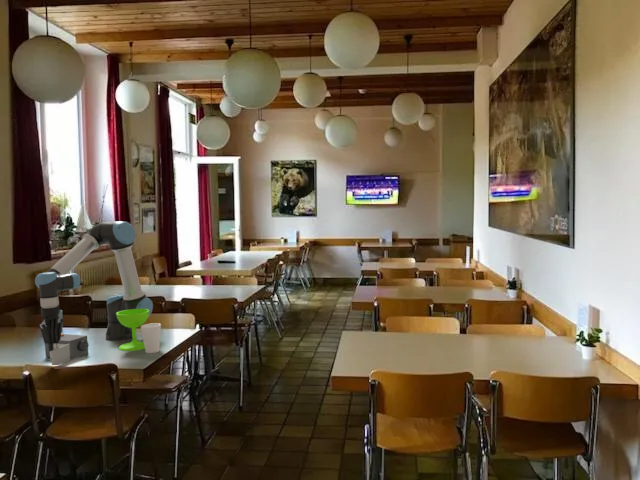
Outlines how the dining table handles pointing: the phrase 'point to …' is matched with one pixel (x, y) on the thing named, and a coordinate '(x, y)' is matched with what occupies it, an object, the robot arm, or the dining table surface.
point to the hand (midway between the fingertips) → (53, 357)
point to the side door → (61, 354)
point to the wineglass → (133, 326)
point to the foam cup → (151, 337)
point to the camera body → (72, 345)
